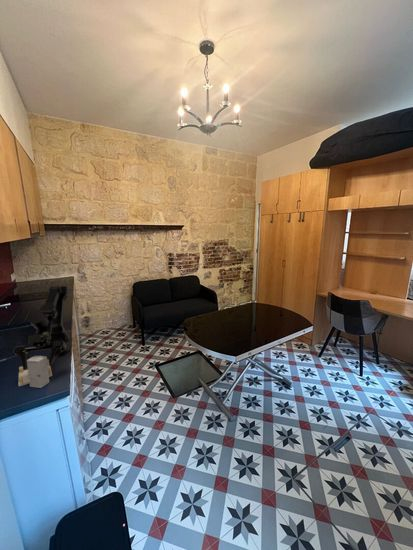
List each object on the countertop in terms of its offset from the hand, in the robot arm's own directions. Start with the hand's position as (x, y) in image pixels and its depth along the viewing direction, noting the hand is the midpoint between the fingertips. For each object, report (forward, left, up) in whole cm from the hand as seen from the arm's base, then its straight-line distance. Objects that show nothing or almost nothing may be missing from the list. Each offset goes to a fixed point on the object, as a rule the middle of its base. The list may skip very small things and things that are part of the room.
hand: (37, 367), depth 99 cm
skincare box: (0, 0, -8) cm, 8 cm away
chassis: (-7, -8, -8) cm, 13 cm away
